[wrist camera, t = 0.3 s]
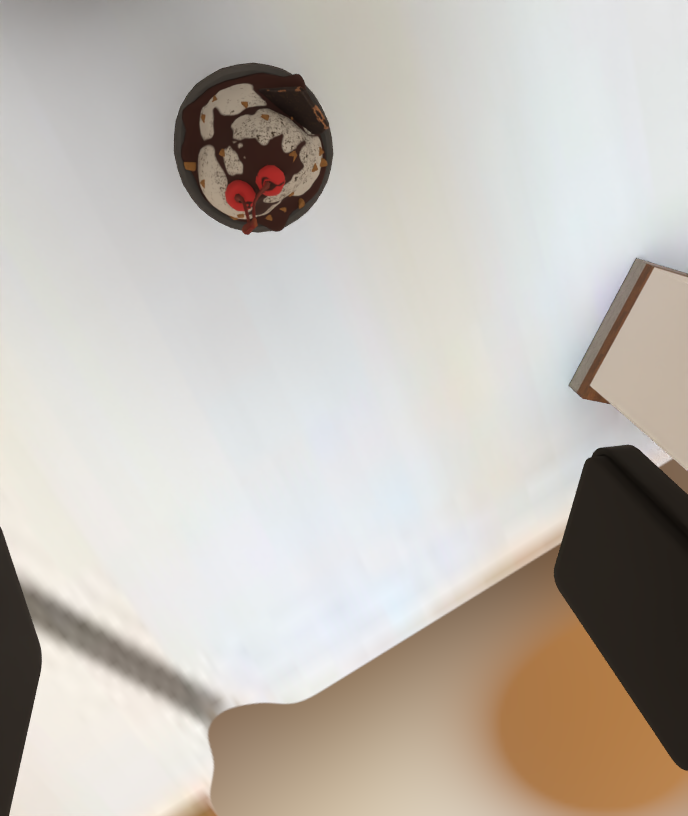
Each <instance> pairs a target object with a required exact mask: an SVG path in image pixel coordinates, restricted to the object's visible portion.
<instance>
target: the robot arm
mask: <svg viewBox="0 0 688 816" xmlns="http://www.w3.org/2000/svg"><path fill="white" fill-rule="evenodd" d="M554 578H555V582H556V585H557V587H558V589H559V591H560V593H561V594H562V596H563V597H564V598H565V600H566V602H567V603H568V605H569V606H570V608H571V609H572V610H573V612H574V613H575V615H576V616H577V618H578V619H579V621H580V622H581V624H582V625H583V627H584V628H585V630H586V631H587V633H588V634H589V636H590V637H591V639H592V640H593V642H594V643H595V644H596V646H597V648H598V649H599V651H600V652H601V654H602V655H603V657H604V658H605V660H606V661H607V663H608V664H609V666H610V667H611V669H612V670H613V671H614V673H615V675H616V676H617V678H618V679H619V680H620V682H621V683H622V685H623V687H624V688H625V690H626V691H627V693H628V694H629V696H630V697H631V698H632V700H633V702H634V703H635V704H636V706H637V707H638V709H639V710H640V712H641V713H642V715H643V716H644V718H645V719H646V721H647V722H648V724H649V725H650V727H651V728H652V730H653V731H654V732H655V734H656V736H657V737H658V739H659V740H660V742H661V743H662V745H663V746H664V748H665V749H666V751H667V752H668V754H669V755H670V757H671V758H672V759H673V761H674V762H675V763H676V764H677V765H678V766H679V767H680V768H681V769H684V770H688V494H687V493H685V492H684V491H683V490H682V489H681V488H680V487H679V486H678V485H677V484H676V483H674V481H672V480H671V479H670V478H669V477H668V476H667V475H666V474H665V473H664V472H663V471H662V470H661V469H659V468H658V467H657V466H656V465H655V464H654V463H653V462H652V461H651V460H650V459H649V458H648V457H646V456H645V455H644V454H643V453H642V452H641V451H640V450H639V449H638V448H636V447H634V446H632V445H622V446H613V447H604V448H599V449H597V450H596V451H595V452H594V453H593V455H592V457H591V458H588V459H587V460H586V462H585V464H584V467H583V470H582V474H581V477H580V481H579V484H578V488H577V491H576V494H575V498H574V501H573V505H572V508H571V512H570V515H569V519H568V522H567V526H566V529H565V533H564V536H563V539H562V543H561V547H560V550H559V553H558V557H557V560H556V564H555V568H554ZM41 664H42V654H41V647H40V643H39V640H38V637H37V634H36V631H35V628H34V625H33V622H32V619H31V616H30V613H29V610H28V607H27V604H26V601H25V598H24V595H23V592H22V589H21V586H20V583H19V580H18V577H17V574H16V571H15V568H14V565H13V562H12V559H11V556H10V553H9V550H8V547H7V544H6V541H5V538H4V535H3V532H2V529H1V527H0V816H9V813H10V808H11V804H12V799H13V795H14V790H15V786H16V781H17V777H18V772H19V768H20V763H21V758H22V754H23V749H24V745H25V740H26V736H27V731H28V727H29V722H30V718H31V713H32V709H33V704H34V699H35V695H36V690H37V686H38V681H39V677H40V672H41Z"/></svg>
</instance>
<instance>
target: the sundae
mask: <svg viewBox="0 0 688 816" xmlns="http://www.w3.org/2000/svg"><path fill="white" fill-rule="evenodd" d="M174 154H175V159H176V164H177V168H178V171H179V174H180V177H181V180H182V183H183V185H184V187H185V188H186V190H187V192H188V193H189V195H190V196H191V198H192V199H193V200H194V202H195V203H196V204H197V205H198V207H199V208H200V209H201V210H203V211H204V212H205V213H206V214H207V215H209V216H210V217H212V218H213V219H215V220H216V221H218V222H220V223H222V224H224V225H226V226H228V227H230V228H234V229H238V230H242V232H243V233H244V234H247V235H249V234H250V233H251V232H257V233H259V232H266V231H276V232H277V231H281V230H282V229H283V228H284V227H286V226H288V225H289V224H291V223H293V222H294V221H296V220H298V219H299V218H300V217H301V216H303V215H304V214H305V213H306V212H308V210H309V209H310V208H311V207H312V206H313V204H314V203H315V202H316V201H317V199H318V198H319V196H320V194H321V193H322V191H323V189H324V187H325V185H326V183H327V181H328V178H329V174H330V170H331V165H332V158H333V146H332V136H331V132H330V127H329V122H328V120H327V118H326V116H325V113H324V111H323V109H322V107H321V105H320V104H319V102H318V100H317V99H316V97H315V95H314V94H313V93H312V92H311V91H310V89H309V88H308V87H307V86H306V85H305V83H304V80H303V78H302V77H301V76H300V75H299V74H293V75H292V74H291V73H289V72H287V71H285V70H283V69H281V68H278V67H274V66H270V65H265V64H258V63H247V64H238V65H234V66H230V67H226V68H222V69H220V70H218V71H216V72H214V73H212V74H211V75H209V76H207V77H206V78H204V79H203V80H202V81H200V82H199V83H197V84H196V85H195V86H194V87H193V89H192V90H191V91H190V92H189V93H188V95H187V96H186V98H185V100H184V101H183V103H182V105H181V107H180V110H179V113H178V116H177V119H176V124H175V132H174Z"/></svg>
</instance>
